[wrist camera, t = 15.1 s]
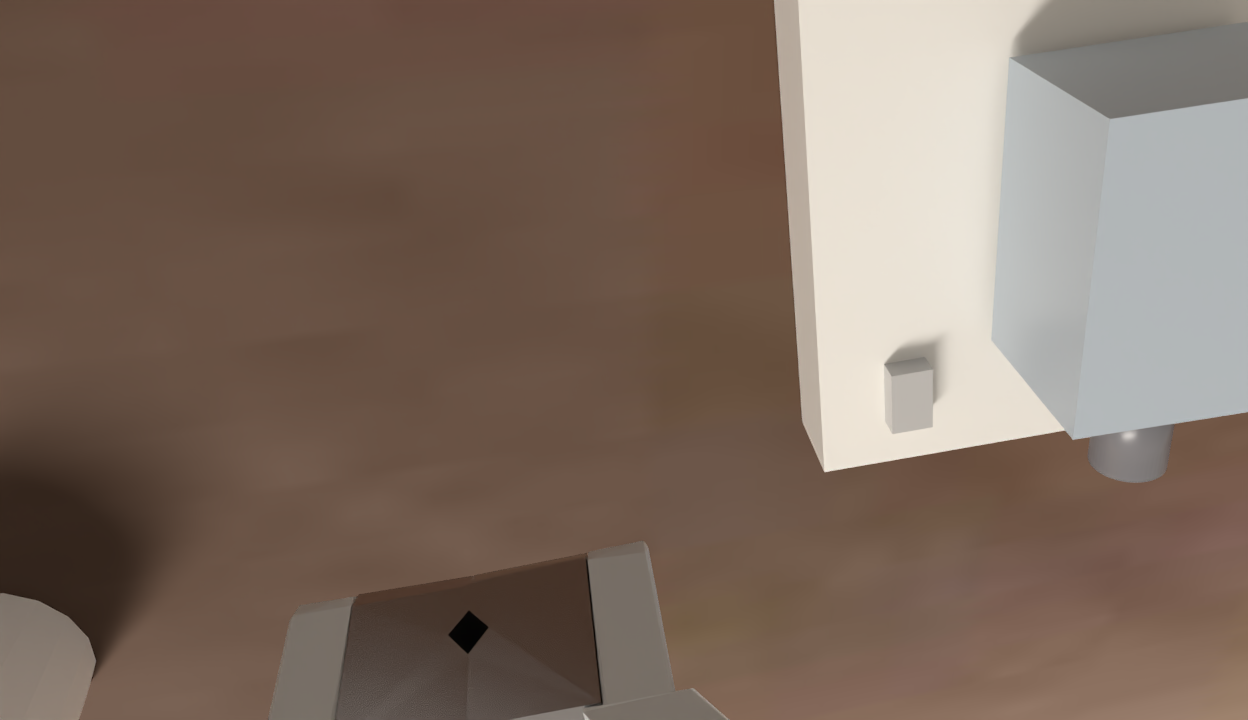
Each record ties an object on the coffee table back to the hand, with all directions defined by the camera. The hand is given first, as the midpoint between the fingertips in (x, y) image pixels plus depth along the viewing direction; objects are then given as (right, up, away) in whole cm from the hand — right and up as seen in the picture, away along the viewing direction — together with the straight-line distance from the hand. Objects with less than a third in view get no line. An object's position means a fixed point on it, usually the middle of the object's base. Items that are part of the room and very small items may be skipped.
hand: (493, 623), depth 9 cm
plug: (+14, +7, +22) cm, 27 cm away
